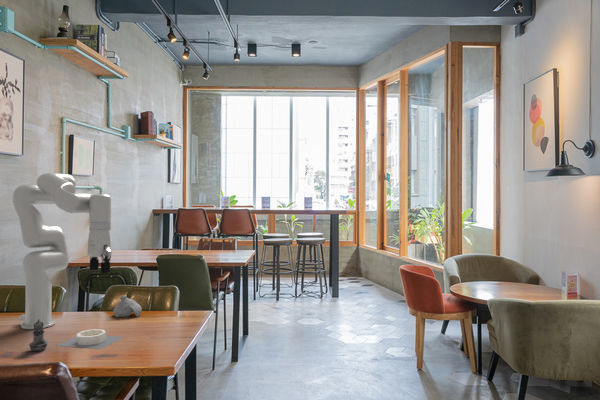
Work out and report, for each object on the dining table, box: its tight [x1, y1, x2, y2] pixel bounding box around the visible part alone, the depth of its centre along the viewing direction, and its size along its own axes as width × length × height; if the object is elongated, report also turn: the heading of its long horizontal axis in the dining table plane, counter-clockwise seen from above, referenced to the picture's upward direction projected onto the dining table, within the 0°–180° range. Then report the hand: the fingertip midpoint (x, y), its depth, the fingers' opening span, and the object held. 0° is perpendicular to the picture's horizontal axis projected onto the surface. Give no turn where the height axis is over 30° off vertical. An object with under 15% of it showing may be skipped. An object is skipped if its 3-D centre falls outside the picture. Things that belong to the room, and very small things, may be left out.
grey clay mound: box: [112, 294, 143, 318], centre depth 205 cm, size 12×12×11 cm
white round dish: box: [76, 328, 107, 345], centre depth 164 cm, size 9×9×3 cm
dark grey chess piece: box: [28, 319, 49, 352], centre depth 154 cm, size 6×6×12 cm
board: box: [56, 335, 124, 350], centre depth 164 cm, size 18×14×1 cm
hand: (99, 271), depth 169 cm, fingers open, 9 cm apart
